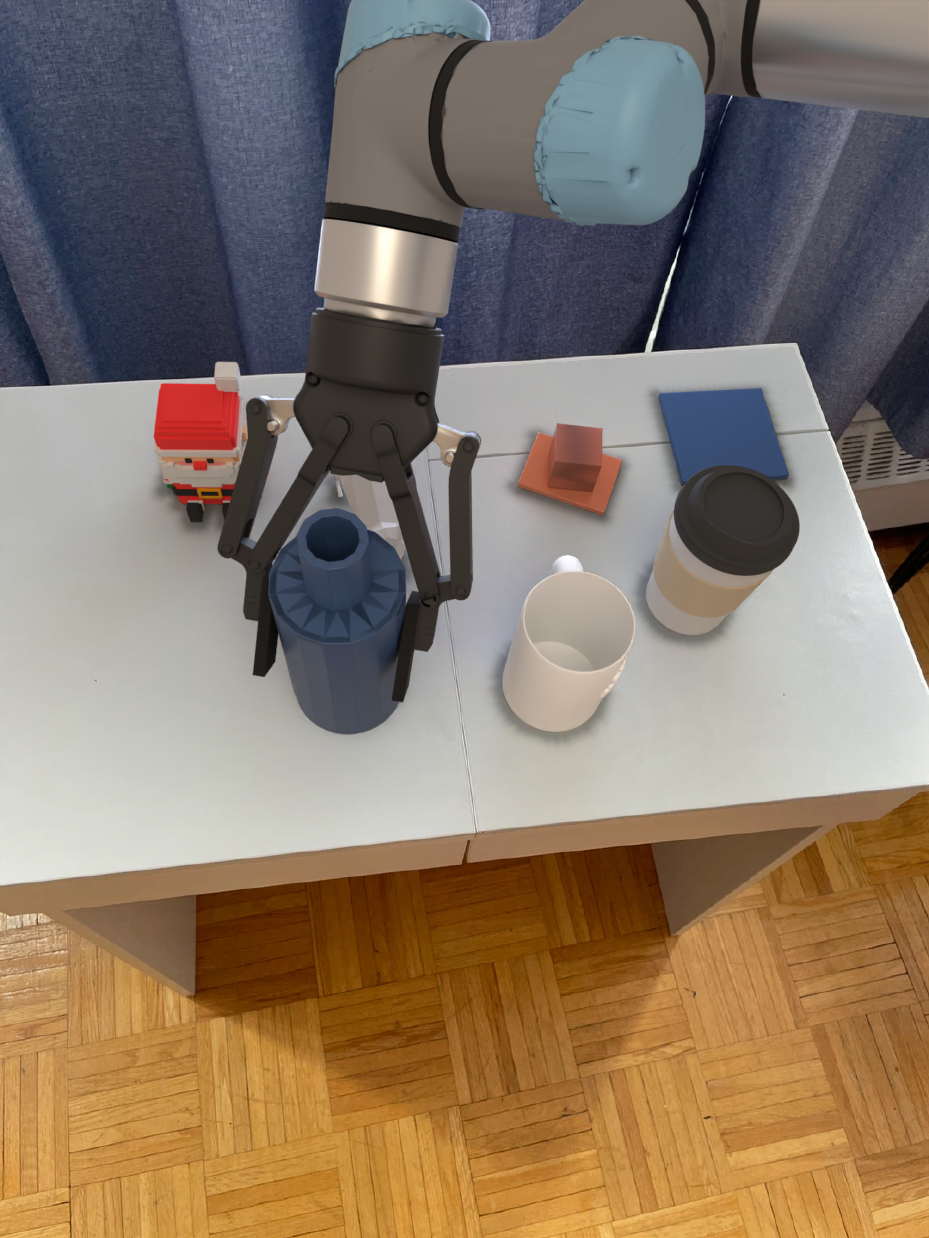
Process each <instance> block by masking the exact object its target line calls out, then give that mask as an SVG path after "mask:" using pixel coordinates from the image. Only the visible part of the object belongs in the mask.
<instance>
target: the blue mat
mask: <svg viewBox="0 0 929 1238" xmlns="http://www.w3.org/2000/svg"><path fill="white" fill-rule="evenodd" d="M658 400H659V404H660V408H661V411H662V415H663V418H664V423H665V426H666V431H667V434H668V438H669V442H670V446H671V451H672V453H673V457H674V462H675V465H676V469H677V474H678V476H679V480H680V484H681V486H684V485H685V483H686V482H687V481H688V479H689V478H690V477H692V476H693V475H694V474H696V473H697V472H699V471H701V470H703V469H705V468H708V467H712V466H718V465H735V466H741V467H745V468H749V469H752V470H755V471H758V472H760V473H762V474H764V475H766V476H768V477H769V478H771V479H772V480H773V481H775V480H787V479H788V478H789V476H790V473H789V470H788V467H787V464H786V461H785V458H784V454H783V451H782V448H781V445H780V442H779V439H778V436H777V433H776V430H775V427H774V424H773V420H772V418H771V415H770V410H769V407H768V405H767V402H766V398H765V395H764V393H763V389H762V388H761V387H756V388H736V389H718V390H717V389H716V390H696V391H679V392H677V391H675V392H660V393H659V395H658Z"/></svg>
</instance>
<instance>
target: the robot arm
mask: <svg viewBox="0 0 929 1238" xmlns="http://www.w3.org/2000/svg"><path fill="white" fill-rule="evenodd" d="M340 47H341V48H340V53H339V59H338V64H337V67H336V68H335V72H334V85H333V87H334V101H333V103H334V105H333V115H332V128H331V140H330V148H329V149H330V150H329V157H328V169H327V179H326V188H325V189H326V190H325V197H324V198H325V200H324V205H323V206H324V207H323V214H322V221H321V229H320V238H319V247H318V255H317V264H316V272H315V279H314V288H313V290H314V292H315V294H316V295H317V296H318V297H321V298H323V307H317V308H316V309H315V312H312V313H311V321H310V330H309V339H308V348H307V357H306V364H305V366H306V367H305V374H304V375H305V376H304V382H303V384H302V387H301V389H300V390H299V392H298V393H297V394H296V396H295V397H274V396H272V395H271V394H268V393H267V394H262V395H259V396H256V397H252V398H250V399H249V400H248V401H247V403H246V404H245V415H246V419H247V433H248V439H247V443H246V446H245V450H244V454H243V457H242V461H241V464H240V468H239V471H238V475H237V478H236V482H235V485H234V489H233V493H232V496H231V500H230V503H229V507H228V510H227V514H226V517H225V519H224V521H223V524H222V528H221V532H220V535H219V538H218V543H217V552H218V554H219V556H220V557H222V558H224V559H230V560H231V559H232V560H233V561H235V562H237V563H239V564H240V565H242V567H243V568H244V571H245V587H244V597H243V606H242V613H243V617H244V619H245V620H247V621H252V622H253V621H254V622H257V628H256V636H255V637H256V638H255V648H254V656H253V657H254V659H253V667H252V676H255V677H260V678H265V677H266V676H267V674H268V673H269V671H271V669H272V667H273V666H274V664H275V663H276V662H277V661H276V660H277V652H278V651H277V650H278V643H279V642H278V641H279V633H278V630H277V626H276V622H275V618H274V614H273V611H272V607H271V603H270V599H269V595H268V592H269V572H270V569H271V567H272V565H273V563H274V561H275V559H276V558H277V556H278V554H279V552H280V550H281V549H282V548H283V547H284V546H285V545H284V544H286V541H287V540H288V538H289V537H290V535H291V533H292V532H293V530H294V529H295V527H296V526H297V523H299V521H300V519H301V517H302V516H303V514H304V512H305V511H306V509H307V508H308V506H309V504H310V503H311V501H312V499H313V498H314V496H315V494H316V493H317V492H318V490H319V489H320V487H321V485H322V483H323V482H324V480H325V478H327V476H328V474H329V473H330V475H334V474H336V475H341V476H347V475H358V476H361V477H363V478H365V479H367V480H369V481H374V482H380V483H382V482H383V481H385V483H386V487H387V490H388V494H389V497H390V499H391V500H392V502H393V505H394V509H395V512H396V516H397V519H398V523H399V526H400V530H401V533H402V537H403V540H404V544H405V547H406V551H405V552H406V554H407V557H408V560H409V561H408V562H409V565H410V568H411V572H412V575H413V578H414V582H415V585H416V589H417V591H416V590H411V591H410V594H409V597H408V598H407V600H406V610H405V616H404V623H403V629H402V636H401V642H400V649H399V655H398V662H397V668H396V675H395V681H394V688H393V694H392V701H397V702H399V703H405V698H406V695H407V693H408V690H409V687H410V680H411V674H412V668H413V662H414V655H415V651H419V652H425V653H429V651H430V649H432V646H433V643H434V640H435V635H436V629H437V623H438V617H439V612H440V607H441V605H442V604H443V603H445V602H448V601H451V600H452V601H454V600H456V601H465V600H467V599H468V598H469V597H470V595H471V591H472V588H473V582H474V561H473V560H474V559H473V556H474V555H473V553H474V552H473V551H474V550H473V485H472V484H473V483H472V481H473V480H472V478H473V477H472V474H473V473H472V471H473V468H474V465H475V462H476V459H477V456H478V453H479V450H480V448H481V444H482V439H481V436H480V434H479V433H478V432H477V431H475V430H469V431H466V432H464V431H462V430H458V429H456V428H453V427H450V426H447V425H446V424H442V423H440V419H439V416H438V413H437V410H436V402H435V401H436V400H435V399H436V393H437V387H438V380H439V374H440V366H441V360H442V353H443V349H444V348H443V347H444V342H445V341H444V340H445V334H442V328H440V327H438V323H436V322H437V318H441V319H442V318H444V317H445V316H447V315H448V314H449V308H450V301H451V295H452V290H453V283H454V275H455V269H456V262H457V255H458V250H459V240H460V235H461V229H462V225H463V220H464V214H465V208H468V209H474V210H479V211H481V210H491V211H499V212H505V213H510V214H511V213H512V214H518V215H525V216H531V217H535V218H536V217H537V218H542V219H551V220H555V221H556V220H557V221H563V222H566V223H569V224H576V225H577V226H580V227H581V226H582V227H584V226H590V227H595V226H596V225H598V224H600V225H602V224H603V225H623V226H624V225H627V226H646V225H650V224H653V223H656V222H658V221H660V220H662V219H663V218H665V217H666V216H667V215H669V214H670V213H671V212H672V211H673V210H674V209H675V208H676V207H677V205H679V203H680V201H681V200H682V199H683V197H684V196H685V194H686V192H687V190H688V185H689V179H690V175H691V173H692V172H694V171H695V169H696V168H697V166H698V164H699V160H700V157H701V152H702V147H703V143H704V137H705V129H706V128H705V127H706V97H708V95H713V94H716V95H723V96H732V97H740V98H757V99H767V100H776V101H782V102H783V101H784V102H791V103H792V102H793V103H801V104H808V105H817V106H825V107H835V108H842V109H850V110H851V109H852V110H859V111H868V112H876V113H884V114H892V115H899V116H901V115H902V116H909V117H918V118H927V119H929V0H583V1H582V2H580V4H579V5H577V6H576V7H575V8H574V9H573V10H572V11H571V12H569V14H568V15H567V16H566V17H565V18H563V19H562V20H561V21H560V22H559V23H558V24H557V25H556V26H555V27H554V28H552V30H551V31H550V32H549V33H547V34H546V35H544V36H542V37H539V38H536V39H524V40H523V39H522V40H520V39H519V40H518V39H517V40H491V23H490V20H489V18H488V16H487V13H486V12H485V11H484V10H483V9H482V8H481V6H479V5H478V4H477V3H475V2H474V1H472V0H351V1H350V3H349V6H348V9H347V14H346V19H345V25H344V30H343V37H342V41H341V46H340ZM292 418H295V420H296V421H297V423H298V425H299V426H300V428H301V430H302V432H303V434H304V435H305V438H306V439H307V442H308V443H309V445H310V447H311V451H310V452H309V454H308V455H307V457H306V459H305V460H304V462H303V464H302V465H301V467H300V468H299V471H298V472H297V476H296V477H295V479H294V480H293V482H292V484H291V485H290V487H289V489H288V491H287V492H286V494H285V495H284V497H283V499H282V500H281V502H280V503H279V505H278V507H277V509H276V510H275V512H274V514H273V515H272V517H271V518H270V520H269V522H268V523H267V525H266V527H265V528H264V530H263V532H262V533H261V534H260V536H259V538H258V540H257V541H255V540H253V539H252V538H251V534H252V530H253V526H254V524H255V521H256V518H257V514H258V510H259V506H260V503H261V499H262V498H263V493H264V490H265V485H266V484H267V483H266V482H267V479H268V475H269V473H270V469H271V466H272V462H273V459H274V455H275V452H276V448H277V445H278V440H279V435H281V434H283V433H285V432H286V431H287V430H288V427H289V423H290V420H291V419H292ZM432 443H435V444H437V445H438V447H439V449H440V461H441V462H442V464H443V465H444V466H446V467H449V468H450V469H449V473H448V483H447V484H448V485H447V486H448V487H447V488H448V535H449V569H450V570H449V572H450V573H449V574H447V575H441V570H440V567H439V563H438V561H437V557H436V553H435V549H434V546H433V542H432V539H431V534H430V532H429V528H428V524H427V521H426V517H425V514H424V510H423V507H422V502H421V499H420V495H419V492H418V487H417V480H416V477H415V471H414V470H413V469H414V468H413V465H412V462H413V461H414V460H415V459H417V458H418V456H419V455H420V454H421V453H423V451H425V450H426V449H427V448H428V446H430V445H431V444H432ZM261 497H262V498H261Z"/></svg>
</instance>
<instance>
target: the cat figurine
mask: <svg viewBox="0 0 929 1238" xmlns="http://www.w3.org/2000/svg"><path fill="white" fill-rule="evenodd" d="M333 475H334V482H335V487H336V492H337V497H338V498H343V497H344V495H345V497H346V499H347V501H348V504H349V506H350V509H351V511H352V513H354V514H356V515H357V517H358V518H359V519H360V520H361V521H362V522H363V523H364V524H365V525H366V527H367V529H368V530H371V531H374V532H376V533H377V534H379V535H380V536H381V537H382V538H383V539H385V540H386V541H387V542H388V543H389V544H391V545H392V546H393V547H394V548H395V549H396V551H397V553H398V555H399V557H400V559H401V560H403V557H404V555H405V553H406V552H407V551H406V547H405V544H404V540H403V537H402V533H401V530H400V526H399V523H398V519H397V516H396V512H395V509H394V505H393V502H392V500H391V499H390V497H389V494H388V490H387V487H386V483H385V481H383V482H382V483H380V482H374V481H369V480H367V479H365V478H363V477H361V476H358V475H347V476H341V475H336V474H333ZM342 489H343V492H344V494H343V492H342Z"/></svg>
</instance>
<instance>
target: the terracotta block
mask: <svg viewBox="0 0 929 1238" xmlns="http://www.w3.org/2000/svg"><path fill="white" fill-rule="evenodd" d="M603 433H604V432H603V427H595V426H586V425H578V424H570V423H569V424H568V423H560V422H558V423H556V425H555V427H554V432H553V436H552V437H553V439H552V443H551V447H550V452H549V472H548V487H550V488H559V489H568V490H577V491H586V492H593V490H594V487H595V484H596V481H597V478H598V476H599V473H600V470H601V467H602V453H603Z"/></svg>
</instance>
